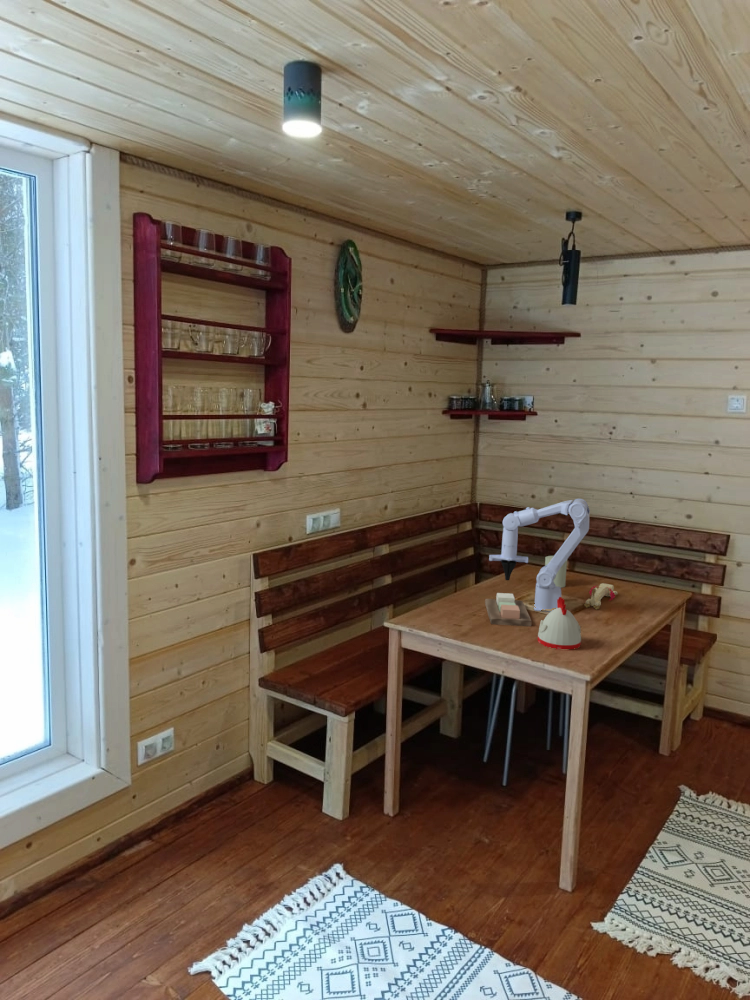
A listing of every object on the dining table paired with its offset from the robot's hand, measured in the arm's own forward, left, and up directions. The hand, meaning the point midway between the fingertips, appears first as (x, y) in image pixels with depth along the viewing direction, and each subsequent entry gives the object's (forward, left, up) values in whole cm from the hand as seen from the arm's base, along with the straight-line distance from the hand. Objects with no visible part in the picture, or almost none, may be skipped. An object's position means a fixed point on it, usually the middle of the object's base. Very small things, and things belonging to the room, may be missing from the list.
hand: (507, 579), depth 288 cm
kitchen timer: (-13, +41, -10) cm, 44 cm away
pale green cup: (-24, -31, -10) cm, 40 cm away
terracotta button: (+1, +21, -8) cm, 23 cm away
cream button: (+1, +7, -8) cm, 10 cm away
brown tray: (+1, +14, -9) cm, 17 cm away
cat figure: (-38, -11, -10) cm, 41 cm away
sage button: (+1, +14, -9) cm, 17 cm away
